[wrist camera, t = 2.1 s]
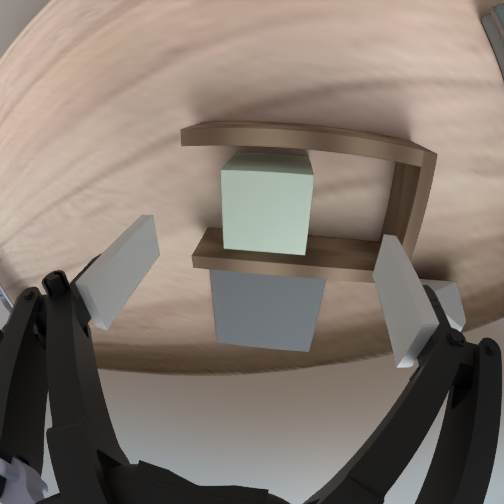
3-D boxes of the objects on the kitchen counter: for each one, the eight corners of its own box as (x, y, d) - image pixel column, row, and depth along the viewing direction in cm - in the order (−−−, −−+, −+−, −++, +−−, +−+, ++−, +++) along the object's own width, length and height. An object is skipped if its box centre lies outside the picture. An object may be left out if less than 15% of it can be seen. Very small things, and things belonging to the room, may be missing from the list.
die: (367, 301, 30) (392, 381, 25) (405, 270, 22) (441, 373, 17) (418, 283, 31) (442, 353, 26) (458, 251, 23) (490, 336, 19)
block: (238, 215, 26) (223, 248, 21) (237, 151, 22) (220, 170, 17) (303, 219, 25) (305, 255, 20) (308, 155, 22) (313, 175, 17)
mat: (218, 339, 35) (217, 342, 35) (211, 265, 29) (209, 269, 28) (308, 348, 34) (308, 351, 34) (325, 275, 28) (326, 279, 27)
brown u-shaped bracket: (208, 238, 27) (193, 267, 23) (202, 122, 21) (180, 129, 17) (387, 253, 25) (401, 284, 21) (411, 141, 19) (437, 154, 15)
